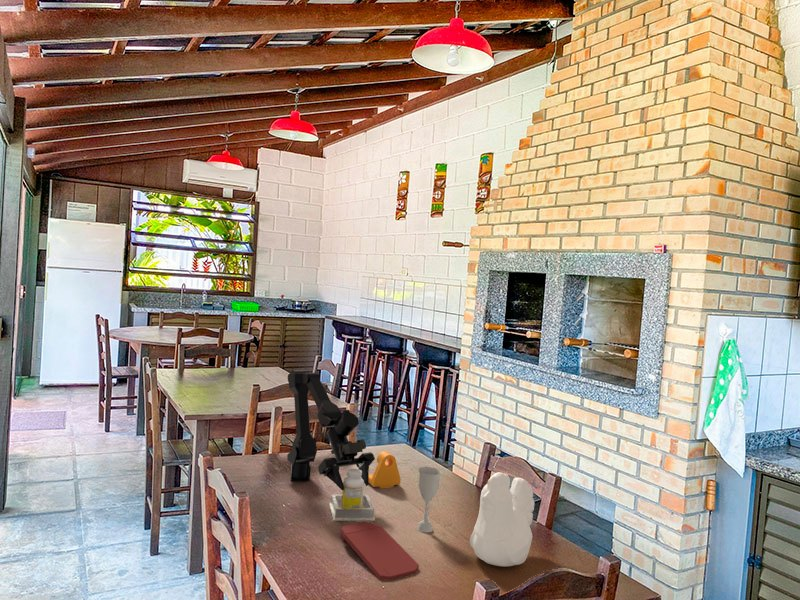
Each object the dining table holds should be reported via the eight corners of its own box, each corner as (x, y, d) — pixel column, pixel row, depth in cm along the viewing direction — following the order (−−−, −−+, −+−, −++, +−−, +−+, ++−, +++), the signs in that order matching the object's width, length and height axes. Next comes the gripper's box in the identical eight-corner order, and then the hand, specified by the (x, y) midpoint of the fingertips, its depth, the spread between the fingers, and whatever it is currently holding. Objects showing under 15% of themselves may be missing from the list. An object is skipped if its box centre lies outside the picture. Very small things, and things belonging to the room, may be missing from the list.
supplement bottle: (346, 505, 189) (350, 466, 189) (365, 509, 187) (368, 470, 186) (337, 512, 183) (340, 471, 182) (356, 516, 180) (359, 476, 180)
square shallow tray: (333, 521, 177) (334, 509, 177) (329, 504, 190) (330, 493, 190) (375, 521, 180) (376, 509, 180) (368, 504, 192) (369, 494, 192)
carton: (418, 585, 152) (370, 532, 172) (422, 568, 151) (372, 517, 171) (379, 596, 145) (333, 540, 165) (383, 578, 144) (336, 524, 164)
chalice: (439, 527, 180) (444, 469, 179) (433, 535, 173) (438, 476, 173) (416, 522, 182) (421, 465, 181) (410, 530, 176) (415, 471, 175)
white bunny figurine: (495, 581, 149) (505, 486, 149) (455, 554, 162) (463, 467, 161) (558, 560, 164) (567, 474, 163) (517, 538, 177) (524, 457, 176)
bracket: (391, 479, 219) (394, 448, 219) (400, 486, 212) (402, 454, 212) (365, 481, 214) (368, 449, 214) (373, 488, 208) (376, 455, 207)
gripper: (325, 433, 181) (341, 479, 173) (374, 428, 193) (391, 471, 185) (311, 451, 188) (326, 496, 180) (359, 445, 199) (374, 487, 191)
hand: (355, 487), depth 184 cm, fingers open, 9 cm apart
